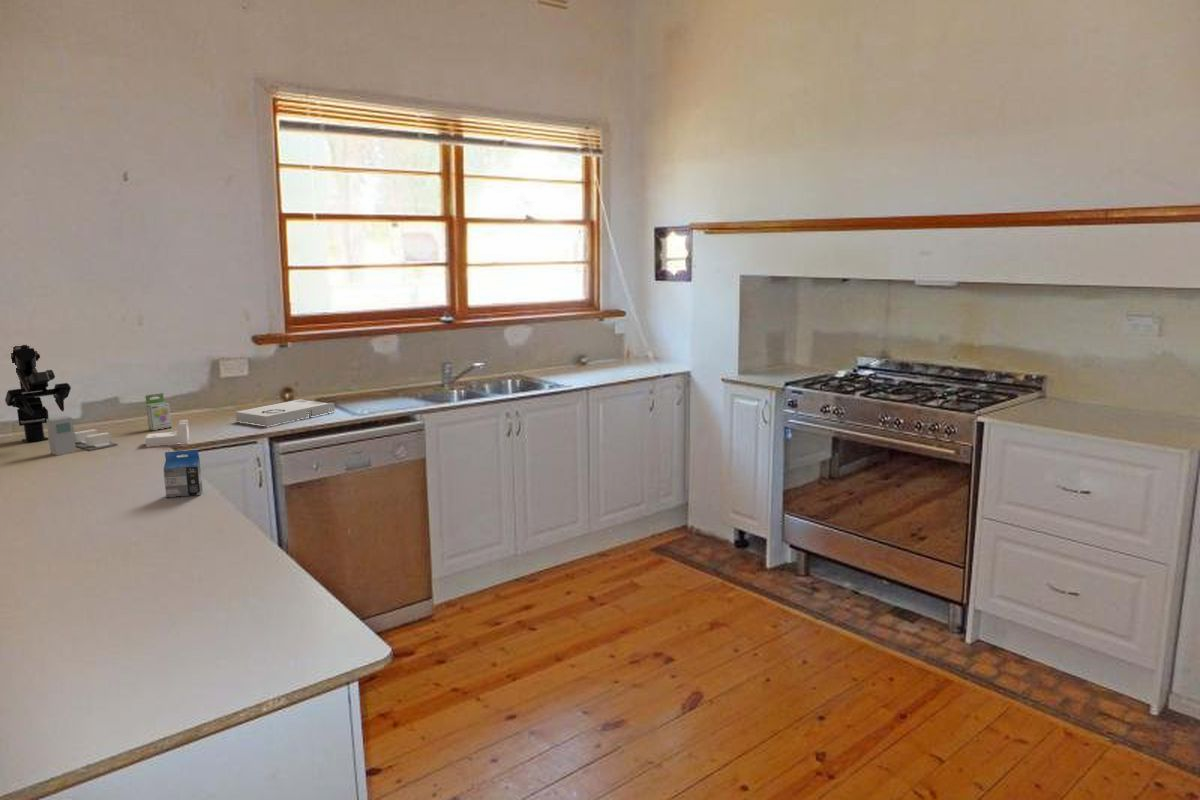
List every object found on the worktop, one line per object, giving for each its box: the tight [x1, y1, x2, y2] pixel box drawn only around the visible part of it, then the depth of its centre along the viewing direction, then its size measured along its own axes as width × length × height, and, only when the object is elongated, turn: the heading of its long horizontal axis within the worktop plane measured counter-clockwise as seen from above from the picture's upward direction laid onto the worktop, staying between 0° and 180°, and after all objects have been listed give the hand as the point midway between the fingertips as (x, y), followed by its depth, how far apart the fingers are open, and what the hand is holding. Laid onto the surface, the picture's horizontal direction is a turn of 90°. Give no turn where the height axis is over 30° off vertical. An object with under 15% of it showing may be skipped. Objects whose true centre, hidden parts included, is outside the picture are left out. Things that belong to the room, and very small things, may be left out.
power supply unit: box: [235, 398, 336, 426], centre depth 338 cm, size 19×33×5 cm, turn 148°
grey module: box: [46, 415, 77, 456], centre depth 282 cm, size 5×6×12 cm
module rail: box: [74, 428, 119, 452], centre depth 294 cm, size 17×9×4 cm, turn 55°
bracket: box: [145, 419, 190, 448], centre depth 295 cm, size 13×7×8 cm, turn 112°
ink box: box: [145, 392, 173, 431], centre depth 318 cm, size 7×4×13 cm, turn 143°
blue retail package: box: [163, 449, 203, 498], centre depth 232 cm, size 9×4×12 cm, turn 105°
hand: (48, 412), depth 285 cm, fingers open, 9 cm apart
